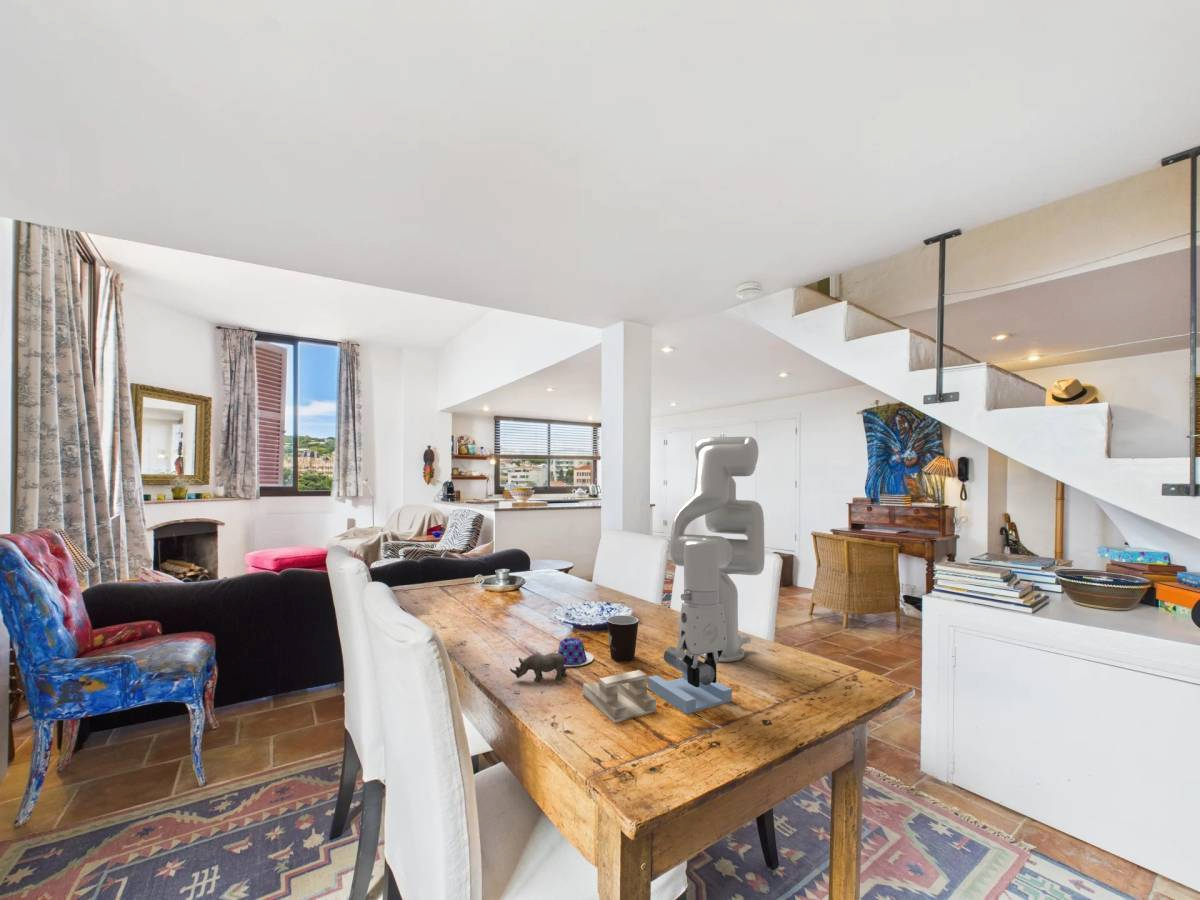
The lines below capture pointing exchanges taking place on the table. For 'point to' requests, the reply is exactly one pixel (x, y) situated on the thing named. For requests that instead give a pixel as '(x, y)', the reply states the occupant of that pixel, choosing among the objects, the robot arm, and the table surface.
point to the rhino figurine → (542, 665)
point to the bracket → (621, 695)
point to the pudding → (574, 652)
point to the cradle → (690, 693)
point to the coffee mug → (622, 637)
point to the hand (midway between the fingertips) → (702, 682)
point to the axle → (670, 658)
